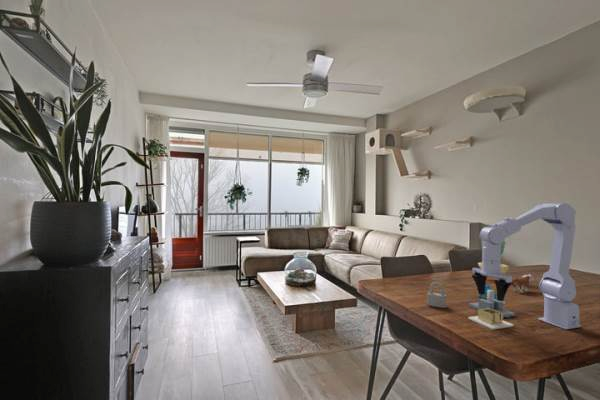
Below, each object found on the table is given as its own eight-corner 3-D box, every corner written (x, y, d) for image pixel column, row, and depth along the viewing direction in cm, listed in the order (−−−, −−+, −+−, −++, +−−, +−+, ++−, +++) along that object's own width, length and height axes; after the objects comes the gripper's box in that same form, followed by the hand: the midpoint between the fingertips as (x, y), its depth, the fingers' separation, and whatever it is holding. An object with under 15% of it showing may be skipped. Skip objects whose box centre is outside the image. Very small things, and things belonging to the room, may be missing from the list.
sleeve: (502, 322, 110) (502, 313, 110) (491, 324, 108) (491, 314, 108) (489, 317, 115) (489, 307, 115) (477, 318, 113) (478, 309, 113)
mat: (513, 326, 108) (513, 324, 108) (492, 329, 105) (492, 327, 105) (488, 316, 118) (488, 314, 118) (468, 318, 115) (468, 317, 115)
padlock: (445, 305, 129) (446, 282, 129) (445, 308, 125) (446, 284, 125) (427, 303, 132) (428, 280, 132) (427, 305, 128) (427, 282, 128)
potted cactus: (513, 283, 168) (514, 237, 168) (482, 280, 171) (483, 236, 171) (502, 276, 183) (502, 234, 183) (473, 274, 186) (474, 233, 186)
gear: (490, 300, 132) (475, 279, 139) (479, 306, 136) (465, 286, 142) (503, 299, 138) (489, 280, 144) (493, 306, 141) (479, 287, 148)
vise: (521, 315, 119) (521, 294, 119) (499, 318, 115) (499, 296, 115) (489, 303, 132) (489, 284, 132) (468, 306, 129) (468, 286, 129)
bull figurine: (536, 291, 153) (536, 274, 153) (518, 293, 148) (518, 276, 148) (526, 288, 157) (527, 272, 157) (509, 291, 152) (509, 274, 152)
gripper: (466, 256, 117) (465, 292, 117) (501, 264, 103) (501, 304, 103) (480, 256, 119) (479, 290, 119) (516, 263, 105) (516, 302, 105)
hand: (490, 297), depth 111 cm, fingers open, 7 cm apart
